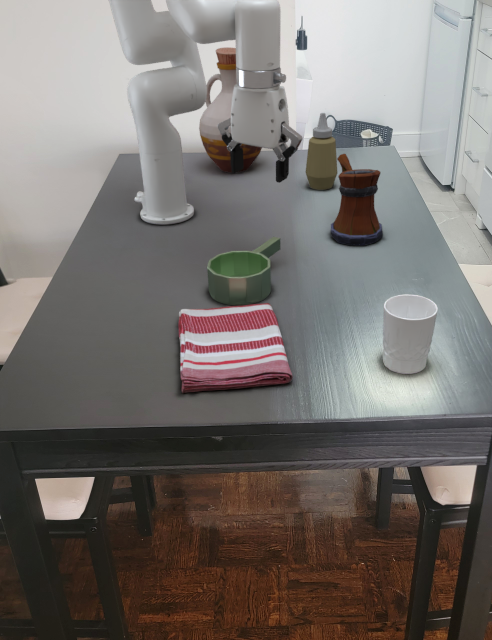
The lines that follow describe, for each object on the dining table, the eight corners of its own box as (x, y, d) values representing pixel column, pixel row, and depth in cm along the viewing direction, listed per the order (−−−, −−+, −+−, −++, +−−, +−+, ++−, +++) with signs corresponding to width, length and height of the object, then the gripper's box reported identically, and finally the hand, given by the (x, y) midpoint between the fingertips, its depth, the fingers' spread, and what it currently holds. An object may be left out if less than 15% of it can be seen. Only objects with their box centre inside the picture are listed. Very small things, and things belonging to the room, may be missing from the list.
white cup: (374, 350, 111) (378, 295, 106) (422, 347, 112) (429, 292, 106) (385, 378, 105) (391, 321, 99) (436, 374, 105) (444, 317, 100)
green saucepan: (249, 311, 123) (248, 283, 120) (197, 296, 129) (195, 269, 125) (302, 269, 137) (302, 242, 134) (253, 257, 142) (252, 231, 139)
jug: (185, 167, 192) (174, 49, 175) (233, 153, 202) (228, 40, 185) (231, 183, 180) (224, 58, 163) (280, 167, 190) (279, 48, 173)
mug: (315, 218, 159) (317, 152, 150) (364, 213, 160) (367, 148, 152) (337, 249, 144) (340, 178, 136) (390, 243, 146) (396, 173, 137)
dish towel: (181, 395, 103) (179, 380, 101) (178, 318, 122) (177, 304, 121) (293, 385, 104) (293, 370, 103) (273, 310, 123) (273, 297, 122)
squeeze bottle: (342, 184, 177) (345, 111, 167) (327, 194, 171) (330, 119, 161) (314, 179, 181) (316, 107, 171) (299, 188, 175) (300, 115, 165)
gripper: (312, 79, 118) (309, 177, 128) (228, 68, 125) (231, 162, 135) (291, 88, 113) (289, 190, 122) (204, 76, 120) (209, 173, 130)
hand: (259, 175), depth 129 cm, fingers open, 9 cm apart
